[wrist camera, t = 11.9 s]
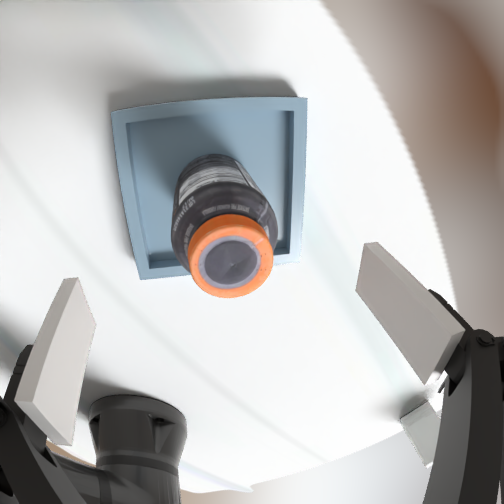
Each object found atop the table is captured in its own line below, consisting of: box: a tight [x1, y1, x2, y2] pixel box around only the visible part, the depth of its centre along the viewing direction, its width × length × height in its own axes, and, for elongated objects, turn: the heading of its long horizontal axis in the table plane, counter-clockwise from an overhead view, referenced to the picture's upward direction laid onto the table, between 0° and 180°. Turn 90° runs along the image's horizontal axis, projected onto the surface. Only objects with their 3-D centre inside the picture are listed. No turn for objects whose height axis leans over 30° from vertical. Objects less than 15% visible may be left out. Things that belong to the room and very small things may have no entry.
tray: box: [111, 97, 307, 280], centre depth 24 cm, size 14×14×2 cm
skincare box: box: [401, 401, 441, 468], centre depth 53 cm, size 8×6×15 cm
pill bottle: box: [171, 154, 278, 298], centre depth 19 cm, size 6×6×11 cm
